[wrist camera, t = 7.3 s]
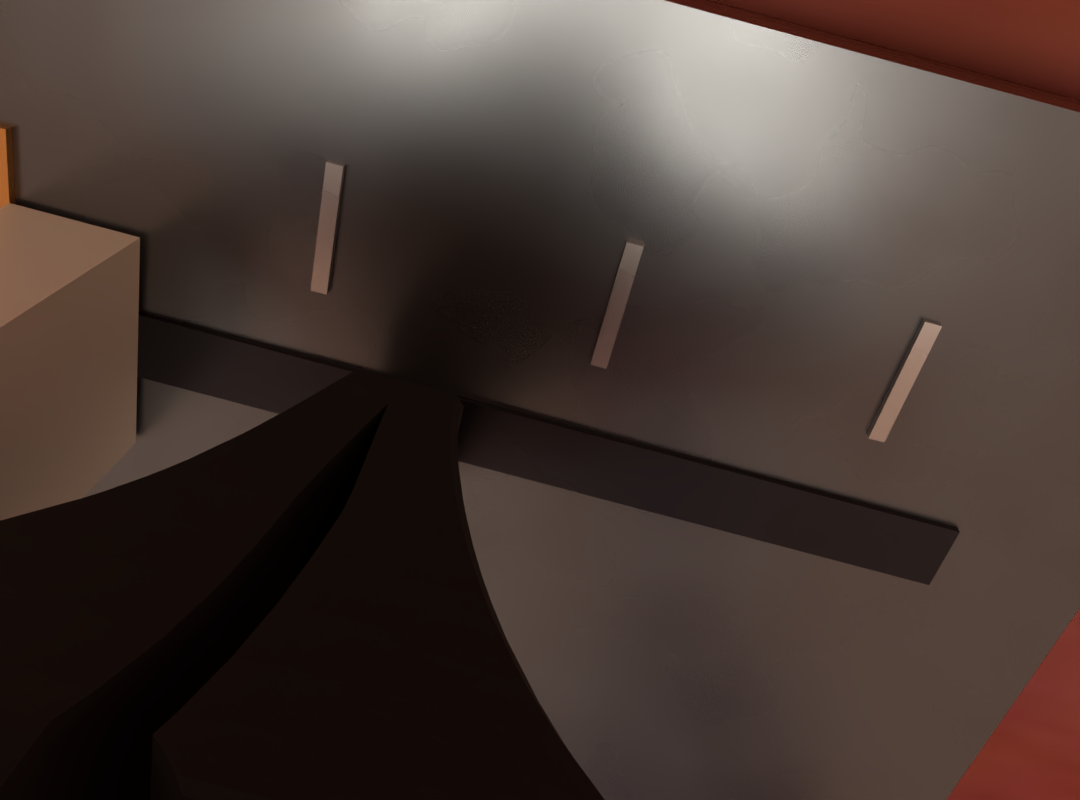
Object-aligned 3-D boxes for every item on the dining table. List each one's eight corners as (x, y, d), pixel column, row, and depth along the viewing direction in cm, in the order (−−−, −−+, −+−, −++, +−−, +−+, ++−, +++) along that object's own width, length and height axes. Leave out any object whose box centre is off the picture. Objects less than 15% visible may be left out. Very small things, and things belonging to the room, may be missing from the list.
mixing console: (769, 962, 19) (779, 1048, 18) (-231, 703, 19) (-304, 770, 17) (1282, 155, 11) (1377, 193, 9) (-494, -324, 10) (-675, -361, 9)
